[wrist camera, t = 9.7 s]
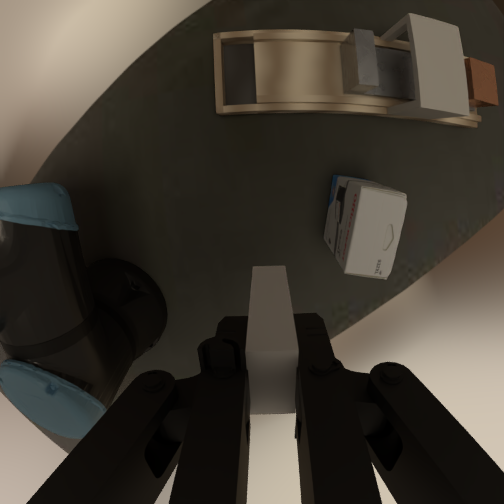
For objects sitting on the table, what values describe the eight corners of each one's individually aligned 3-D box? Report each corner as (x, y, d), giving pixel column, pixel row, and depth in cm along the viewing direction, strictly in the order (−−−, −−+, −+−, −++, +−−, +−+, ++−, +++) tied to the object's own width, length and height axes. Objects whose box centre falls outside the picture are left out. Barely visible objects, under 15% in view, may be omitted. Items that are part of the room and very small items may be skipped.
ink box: (332, 172, 37) (361, 184, 25) (369, 179, 37) (409, 194, 25) (321, 239, 39) (342, 275, 28) (357, 244, 39) (389, 281, 28)
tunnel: (387, 114, 31) (420, 107, 23) (380, 37, 28) (409, 12, 20) (430, 119, 31) (469, 116, 23) (423, 45, 28) (458, 26, 20)
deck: (219, 115, 35) (214, 112, 31) (216, 41, 32) (211, 30, 28) (465, 128, 33) (481, 127, 29) (459, 62, 30) (474, 57, 26)
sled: (343, 93, 30) (359, 84, 25) (339, 45, 28) (353, 28, 23) (470, 111, 30) (498, 109, 24) (466, 69, 28) (493, 61, 22)
